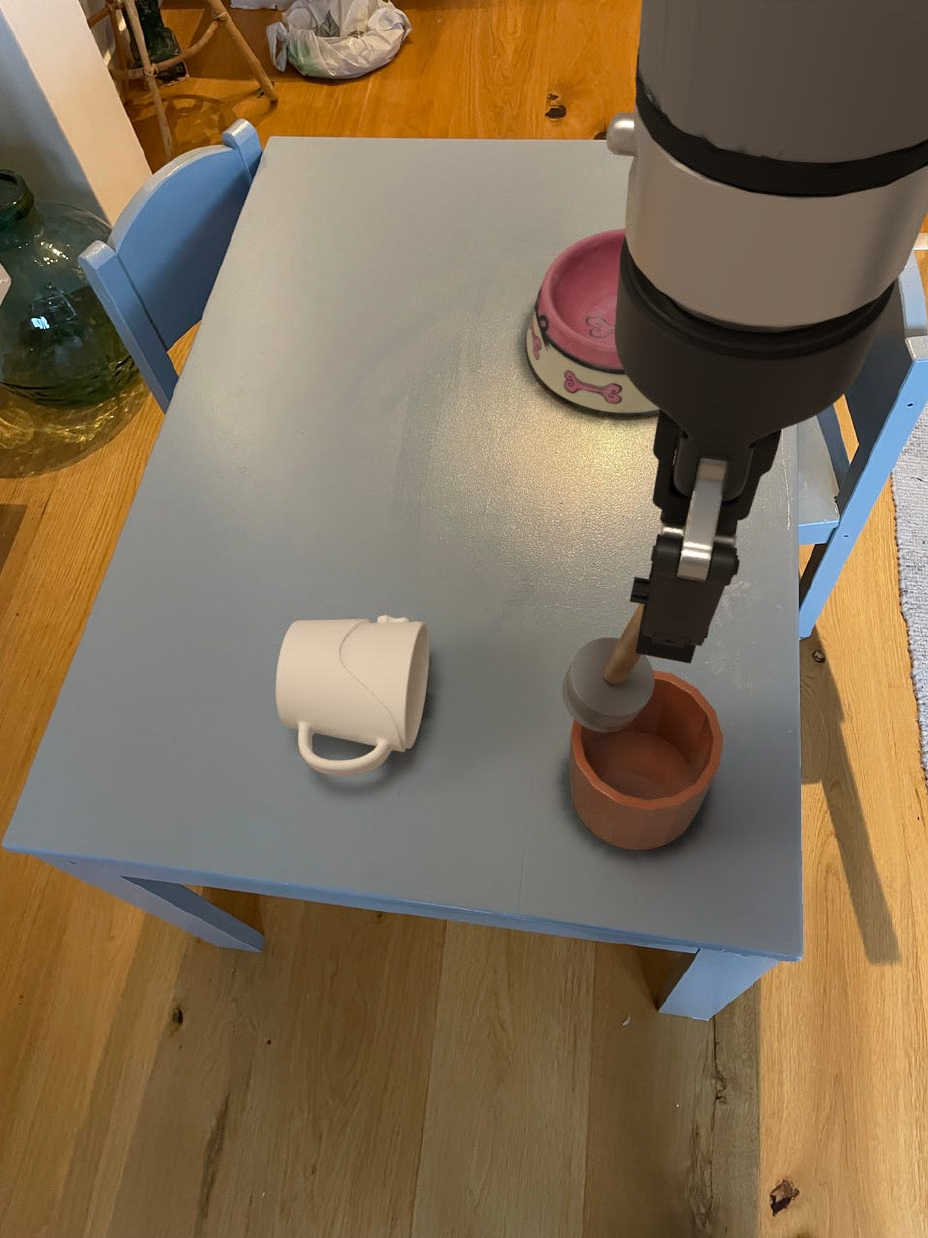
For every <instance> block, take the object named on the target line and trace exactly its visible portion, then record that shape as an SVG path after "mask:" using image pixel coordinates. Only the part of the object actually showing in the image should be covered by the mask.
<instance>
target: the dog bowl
mask: <svg viewBox="0 0 928 1238" xmlns="http://www.w3.org/2000/svg"><path fill="white" fill-rule="evenodd" d="M624 239H625V228H618V229H611V230H607V231H602V232H599V233H594V234H592V235H590V236H587V237H584V238H582V239H580V240H578V241H577V242H575V243H573V244H571V245H570V246H568V247H566V249H565V250H563V251H562V252H560V254H558V256H557V257H556V258H555V259H554V260H553V261H552V263H551V264H550V266H549V267H548V269H547V270H546V271H545V272H546V273H545V274H544V277H543V280H542V283H541V285H540V286H539V287H540V288H539V289H538V292H537V296H536V299H535V304H534V310H533V313H532V316H531V319H530V321H529V324H528V327H527V330H526V333H525V340H524V341H525V342H524V343H525V344H524V348H525V355H526V360H527V363H528V365H529V368H530V371H531V372H532V375H533V376H534V378H535V380H536V381H537V382H538V384H539V385H540V386H541V387H542V388H543V389H544V390H546V392H548V393H549V394H550V396H552V397H553V398H555V399H556V400H558V401H560V402H561V403H563V404H565V405H567V406H569V407H571V408H573V409H576V410H578V411H581V412H584V413H588V414H590V415H596V416H599V417H605V418H613V419H614V418H618V419H619V418H620V419H632V418H640V417H641V418H642V417H649V416H656V415H659V411H660V409H659V408H658V407H657V406H655V405H654V404H653V403H651V402H650V401H649V400H648V399H647V398H646V397H644V396H643V395H642V394H641V393H640V392H639V390H638V389H637V388H636V387H635V386H634V385H633V383H632V382H631V381H630V379H629V378H628V376H627V375H626V373H625V371H624V369H623V367H622V365H621V363H620V360H619V358H618V354H617V350H616V344H615V318H616V305H617V291H618V278H619V265H620V255H621V249H622V244H623V242H624Z"/></svg>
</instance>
